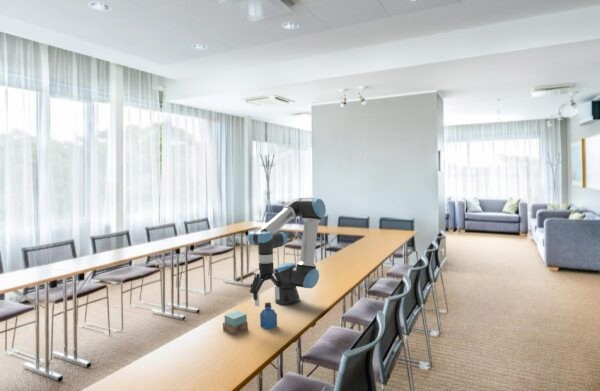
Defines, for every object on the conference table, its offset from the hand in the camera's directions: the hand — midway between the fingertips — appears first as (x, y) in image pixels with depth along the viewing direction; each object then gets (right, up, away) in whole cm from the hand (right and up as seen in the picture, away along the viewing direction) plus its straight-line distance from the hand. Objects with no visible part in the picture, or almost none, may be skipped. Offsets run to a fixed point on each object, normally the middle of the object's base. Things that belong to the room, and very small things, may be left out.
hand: (267, 302), depth 189 cm
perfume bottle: (+1, -13, +1) cm, 13 cm away
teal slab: (-16, -10, -2) cm, 19 cm away
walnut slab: (-16, -14, -2) cm, 21 cm away
